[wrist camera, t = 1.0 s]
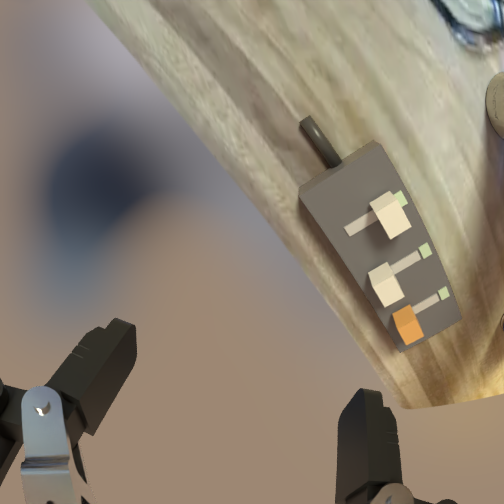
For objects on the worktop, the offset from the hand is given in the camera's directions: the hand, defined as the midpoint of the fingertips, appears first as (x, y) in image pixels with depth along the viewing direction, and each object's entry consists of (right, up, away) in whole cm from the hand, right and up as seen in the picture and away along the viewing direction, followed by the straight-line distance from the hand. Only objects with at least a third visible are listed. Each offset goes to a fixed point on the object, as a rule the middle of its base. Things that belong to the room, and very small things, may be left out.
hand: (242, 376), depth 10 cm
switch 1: (+14, +9, +20) cm, 26 cm away
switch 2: (+15, +1, +24) cm, 28 cm away
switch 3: (+19, -4, +26) cm, 32 cm away
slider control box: (+16, +6, +26) cm, 31 cm away
